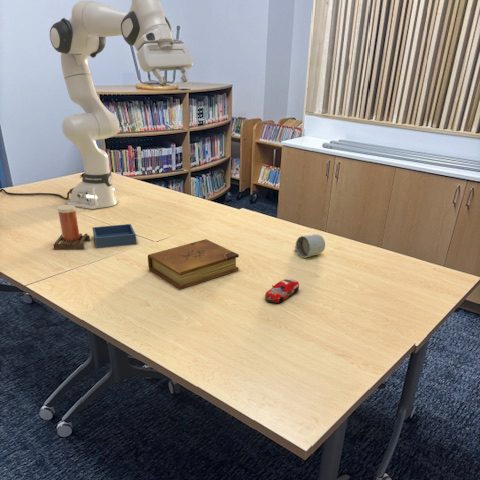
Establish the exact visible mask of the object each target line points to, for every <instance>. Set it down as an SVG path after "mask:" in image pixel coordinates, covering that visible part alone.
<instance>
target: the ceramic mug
mask: <svg viewBox="0 0 480 480" xmlns="http://www.w3.org/2000/svg"><path fill="white" fill-rule="evenodd" d="M325 249H326V241H325V239H324V237H323V236H322V235H320V234H316V233H314V234H306V235H300V236H299V237H298V238H297V239H296V241H295V246H294V250H295V251H296V253H297V254H298V256H299V257H300V258H304V259H306V258H309V257H313V256H318V255H320V254H322V253H323V252H324V251H325Z"/></svg>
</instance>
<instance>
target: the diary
mask: <svg viewBox="0 0 480 480" xmlns="http://www.w3.org/2000/svg"><path fill="white" fill-rule="evenodd" d="M239 257H240V256H239V253H236V252H235V251H232V250H230V249H228V248H226V247H224V246H221V245H219V244H217V243H215V242H213V241H211V240H209V239H207V238H205V239H202V240H198V241H194V242H191V243H190V242H189V243H186V244H184V245H179V246H175V247H171V248H168V249H164V250H161V251H160V250H159V251H157V252H154V253H149V254H148V255H147V265H148V266H147V267H148V270H149V271H150V272H152V273H154V274H155V275H157V276H158V277H160V278H161V279H163V280H164V281H166V282H168V283H169V284H171V285H172V286H174V287H175V288H177V289H179V290H183V289H185V288H186V289H187V288H188V287H191V286H195V285H197V284H201V283H204V282H207V281H210V280H213V279H216V278H219V277H223V276H225V275H228V274H233V273H235V272H238V271H239V269H240V268H239V267H238V266H237V258H239Z"/></svg>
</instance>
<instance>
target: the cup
mask: <svg viewBox="0 0 480 480" xmlns="http://www.w3.org/2000/svg"><path fill="white" fill-rule="evenodd" d="M57 213H58V219H59V224H60V229H61V235H62V236H63V240H66V242H68V241H72V242H74V241H73V240H77V239H79V238H80V235H79V234H80V229H79V221H78V217H77V209H76V206H74V205H67V204H62V205H59V206H58V207H57Z"/></svg>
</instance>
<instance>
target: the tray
mask: <svg viewBox="0 0 480 480" xmlns="http://www.w3.org/2000/svg"><path fill="white" fill-rule="evenodd" d="M92 234H93V235H92V236H93V239H94V243H95V247H96V249H101V248H102V249H103V248H113V247H120V246H122V247H123V246H131V245H138V244H137V234H136V232H135V230H134V228H133V226H132V224H131V223H126V224H125V223H124V224H113V225H103V226H93V227H92Z"/></svg>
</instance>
